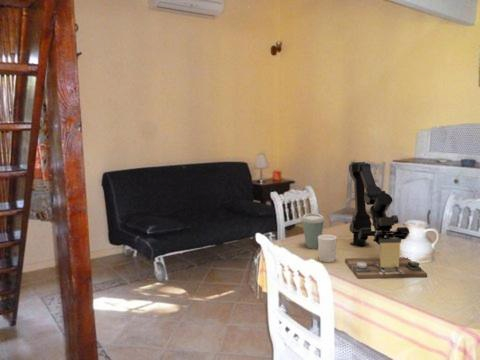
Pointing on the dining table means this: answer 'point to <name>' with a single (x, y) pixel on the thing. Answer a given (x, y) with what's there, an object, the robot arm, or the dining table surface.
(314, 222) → the disposable coffee cup
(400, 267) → the control panel
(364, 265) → the grey push button
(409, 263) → the black rocker switch
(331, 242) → the white cup
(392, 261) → the yellow upright block
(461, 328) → the dining table surface
